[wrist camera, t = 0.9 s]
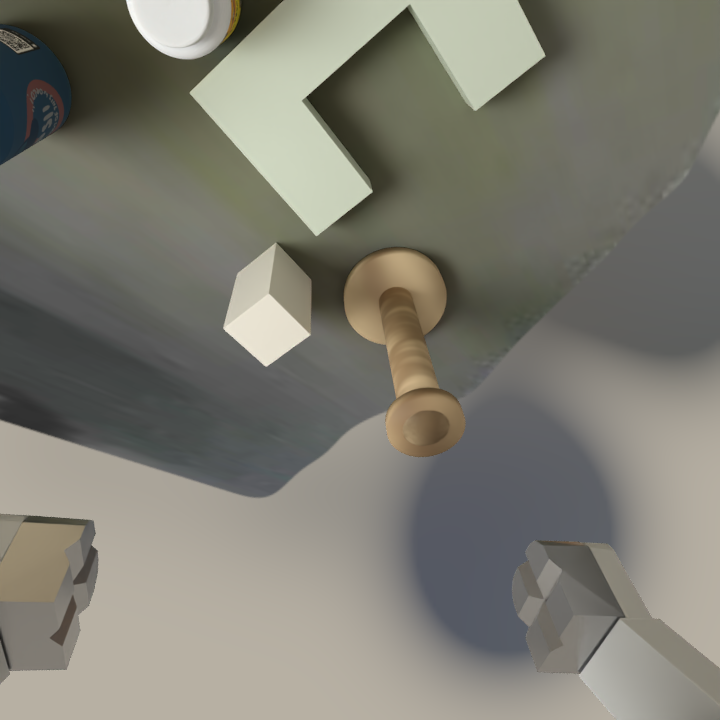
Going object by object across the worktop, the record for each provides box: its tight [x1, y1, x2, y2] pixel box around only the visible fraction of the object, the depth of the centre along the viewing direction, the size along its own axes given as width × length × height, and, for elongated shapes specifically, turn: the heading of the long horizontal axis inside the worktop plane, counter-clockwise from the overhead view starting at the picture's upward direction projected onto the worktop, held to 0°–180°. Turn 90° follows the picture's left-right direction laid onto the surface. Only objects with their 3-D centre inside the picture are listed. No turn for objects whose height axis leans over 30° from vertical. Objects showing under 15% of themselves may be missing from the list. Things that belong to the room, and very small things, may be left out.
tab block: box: [223, 243, 312, 366], centre depth 45 cm, size 4×4×9 cm
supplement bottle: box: [126, 0, 241, 59], centre depth 32 cm, size 6×6×10 cm
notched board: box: [190, 0, 546, 236], centre depth 38 cm, size 20×13×3 cm, turn 128°
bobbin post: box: [344, 247, 465, 457], centre depth 43 cm, size 9×9×18 cm
